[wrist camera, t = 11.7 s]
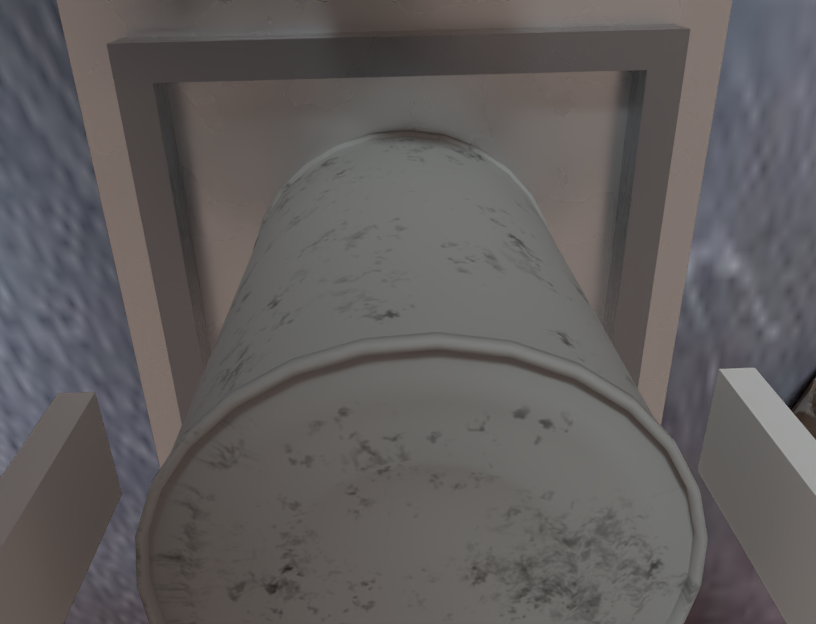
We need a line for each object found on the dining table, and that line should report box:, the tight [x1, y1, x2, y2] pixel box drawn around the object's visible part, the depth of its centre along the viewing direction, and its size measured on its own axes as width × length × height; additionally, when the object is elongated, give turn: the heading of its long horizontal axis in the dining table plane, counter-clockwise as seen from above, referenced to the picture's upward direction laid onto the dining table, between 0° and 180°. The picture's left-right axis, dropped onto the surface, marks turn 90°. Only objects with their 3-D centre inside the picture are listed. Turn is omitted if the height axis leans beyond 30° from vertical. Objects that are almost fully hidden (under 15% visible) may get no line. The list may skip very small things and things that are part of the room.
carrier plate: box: [57, 0, 732, 468], centre depth 20 cm, size 24×18×6 cm
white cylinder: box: [135, 131, 708, 624], centre depth 18 cm, size 10×10×12 cm
